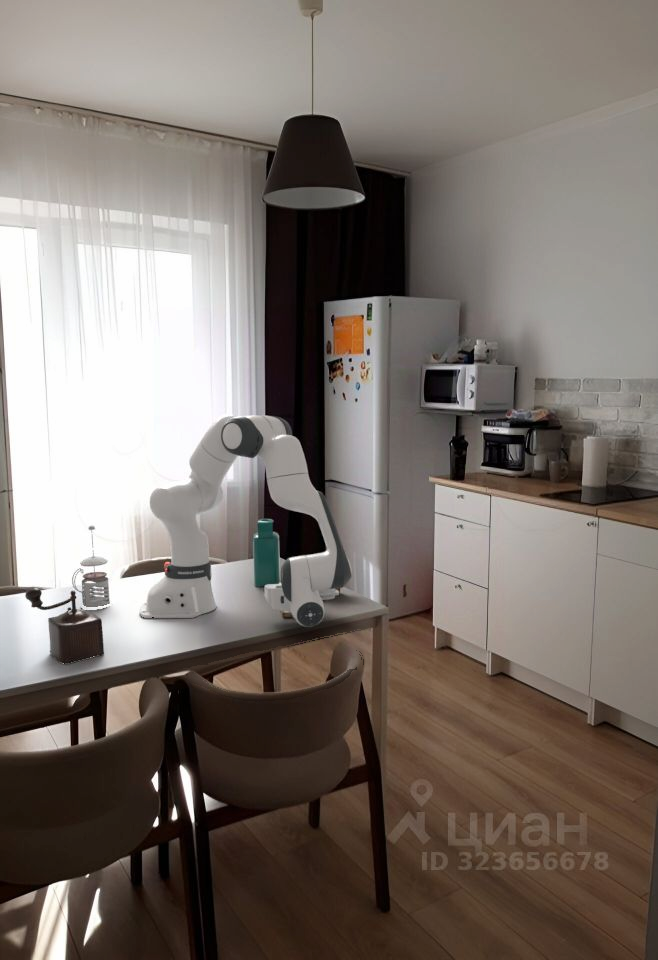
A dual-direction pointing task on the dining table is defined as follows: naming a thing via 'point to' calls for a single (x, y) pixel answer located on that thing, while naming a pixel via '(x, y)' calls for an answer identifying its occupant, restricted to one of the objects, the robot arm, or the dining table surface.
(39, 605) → the manual coffee grinder
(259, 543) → the green bottle
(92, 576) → the french press
